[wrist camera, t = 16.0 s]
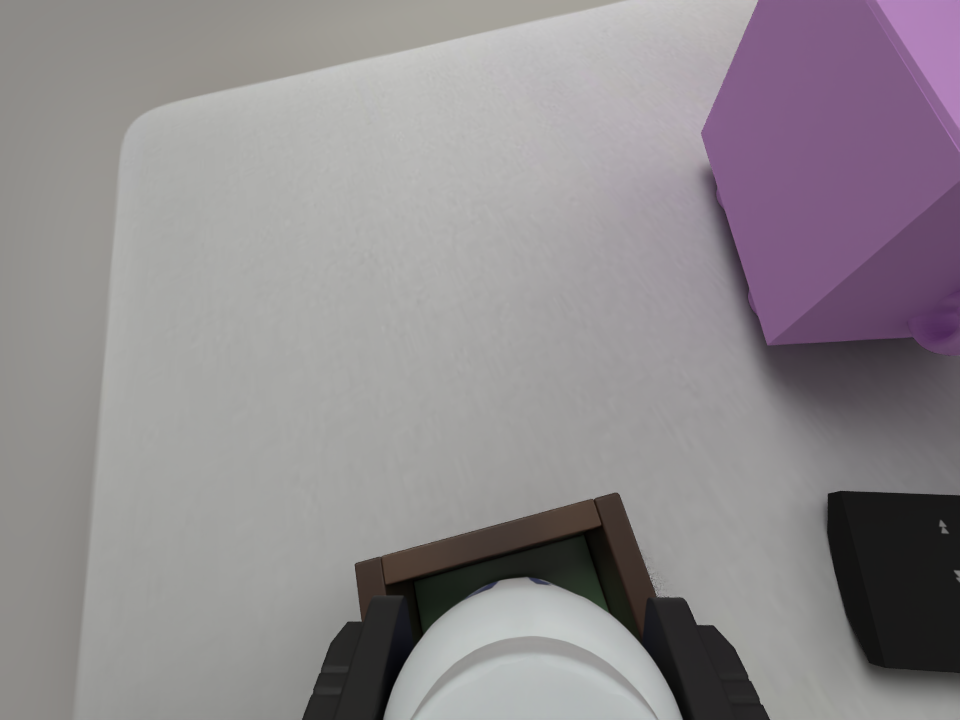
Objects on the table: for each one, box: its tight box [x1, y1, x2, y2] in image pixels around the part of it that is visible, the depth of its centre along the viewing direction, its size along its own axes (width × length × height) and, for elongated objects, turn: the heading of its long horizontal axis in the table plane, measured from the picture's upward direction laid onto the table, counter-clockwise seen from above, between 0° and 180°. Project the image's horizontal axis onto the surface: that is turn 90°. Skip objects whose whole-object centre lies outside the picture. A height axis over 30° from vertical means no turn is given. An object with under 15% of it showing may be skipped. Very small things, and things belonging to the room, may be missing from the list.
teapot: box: [701, 0, 960, 356], centre depth 17 cm, size 20×10×12 cm, turn 2°
